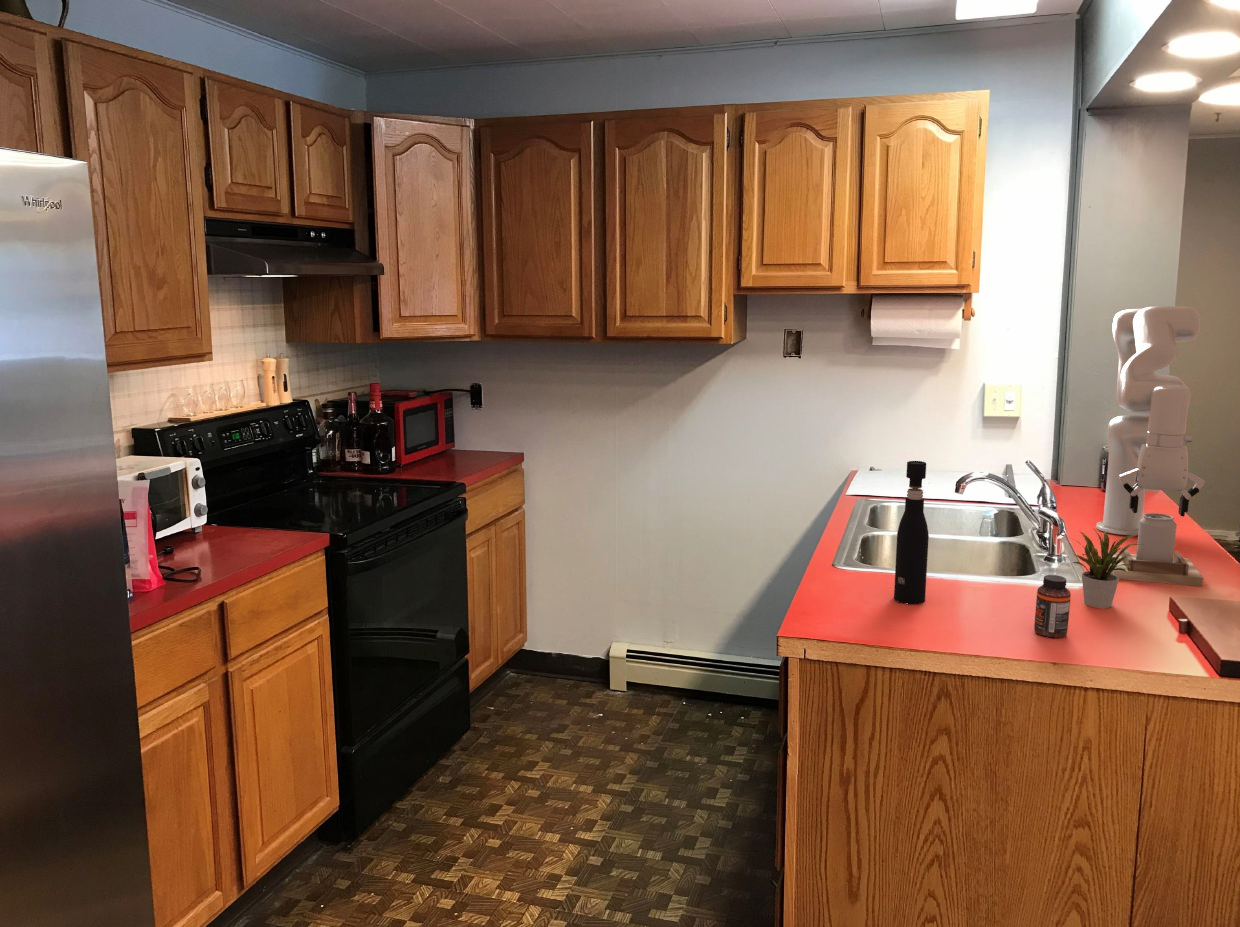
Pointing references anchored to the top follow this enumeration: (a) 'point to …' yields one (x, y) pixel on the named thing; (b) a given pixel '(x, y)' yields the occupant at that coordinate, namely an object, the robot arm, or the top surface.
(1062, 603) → the supplement bottle
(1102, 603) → the house plant
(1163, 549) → the can
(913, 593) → the black insulated water bottle
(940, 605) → the top surface
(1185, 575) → the dock
